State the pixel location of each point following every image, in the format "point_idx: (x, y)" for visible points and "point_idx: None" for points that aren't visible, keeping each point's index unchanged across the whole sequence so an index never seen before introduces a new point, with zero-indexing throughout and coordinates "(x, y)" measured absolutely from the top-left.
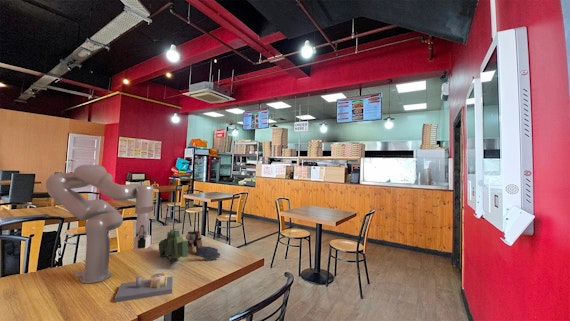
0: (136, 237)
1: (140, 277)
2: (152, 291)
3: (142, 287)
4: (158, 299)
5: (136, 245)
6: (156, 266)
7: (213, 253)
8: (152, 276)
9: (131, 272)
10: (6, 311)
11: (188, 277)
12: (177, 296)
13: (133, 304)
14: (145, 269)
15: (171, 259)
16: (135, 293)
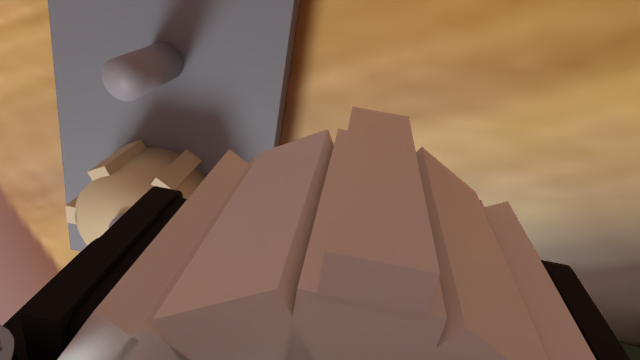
0: (303, 332)
1: (117, 93)
2: (67, 143)
3: (152, 90)
4: (35, 157)
5: (198, 187)
6: (603, 236)
7: None
8: (135, 183)
9: (622, 29)
10: None
11: None
12: (45, 248)
13: (7, 13)
14: (601, 150)
15: (629, 357)
16: (68, 34)
